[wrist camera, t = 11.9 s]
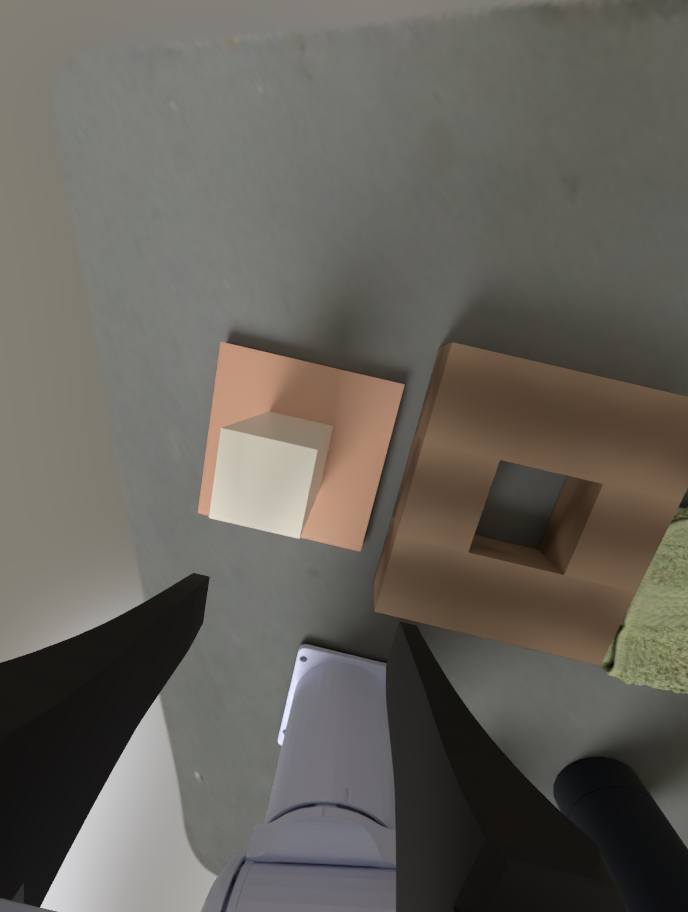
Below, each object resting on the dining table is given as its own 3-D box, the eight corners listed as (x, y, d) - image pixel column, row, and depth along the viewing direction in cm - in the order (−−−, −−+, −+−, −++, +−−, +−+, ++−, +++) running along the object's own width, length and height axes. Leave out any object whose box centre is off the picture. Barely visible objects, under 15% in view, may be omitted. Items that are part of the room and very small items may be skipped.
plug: (320, 487, 21) (299, 538, 14) (258, 473, 21) (209, 517, 14) (333, 426, 20) (317, 450, 13) (269, 411, 20) (220, 427, 14)
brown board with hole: (570, 629, 23) (599, 665, 20) (373, 582, 23) (374, 611, 20) (674, 402, 20) (728, 406, 17) (439, 347, 20) (452, 342, 17)
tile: (360, 545, 23) (360, 551, 22) (203, 508, 23) (197, 512, 22) (403, 384, 20) (404, 384, 19) (226, 343, 20) (220, 341, 20)
